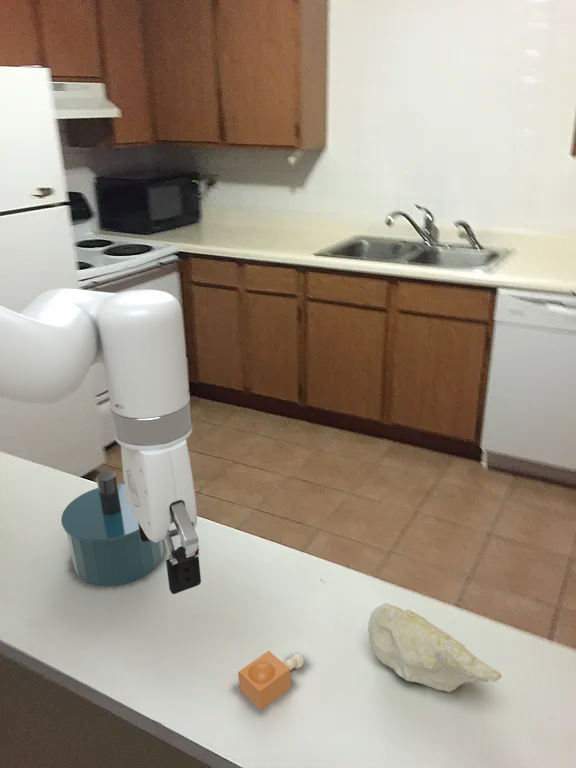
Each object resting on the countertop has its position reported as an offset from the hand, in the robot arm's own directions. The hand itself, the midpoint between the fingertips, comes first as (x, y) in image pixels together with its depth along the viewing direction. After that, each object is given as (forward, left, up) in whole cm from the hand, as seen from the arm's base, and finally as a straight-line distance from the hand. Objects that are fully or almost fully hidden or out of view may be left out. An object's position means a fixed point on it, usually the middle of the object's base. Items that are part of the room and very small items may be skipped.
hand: (169, 561), depth 72 cm
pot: (+20, +22, -20) cm, 36 cm away
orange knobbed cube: (+5, -10, -20) cm, 23 cm away
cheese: (+12, -28, -20) cm, 37 cm away
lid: (+20, +22, -12) cm, 32 cm away
